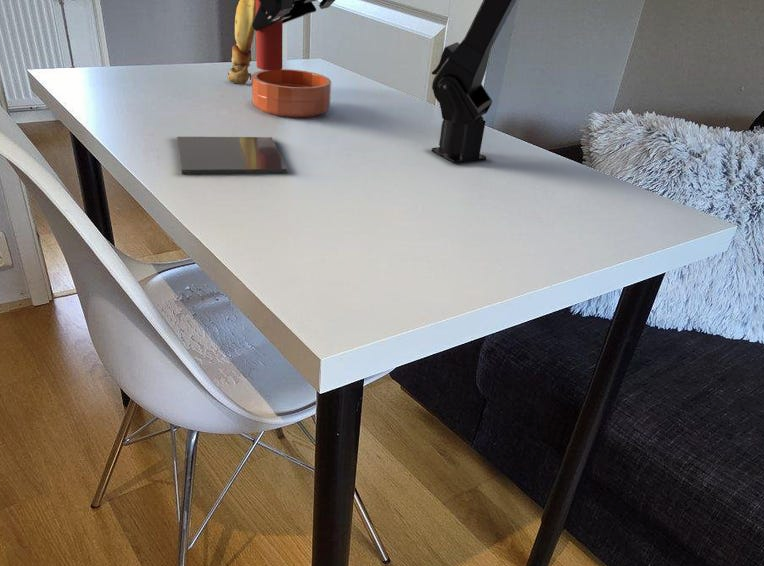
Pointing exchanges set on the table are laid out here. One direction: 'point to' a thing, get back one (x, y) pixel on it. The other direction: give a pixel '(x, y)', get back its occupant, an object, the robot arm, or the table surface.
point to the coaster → (229, 155)
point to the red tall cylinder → (269, 46)
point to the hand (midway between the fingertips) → (261, 26)
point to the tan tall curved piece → (242, 41)
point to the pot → (291, 92)
